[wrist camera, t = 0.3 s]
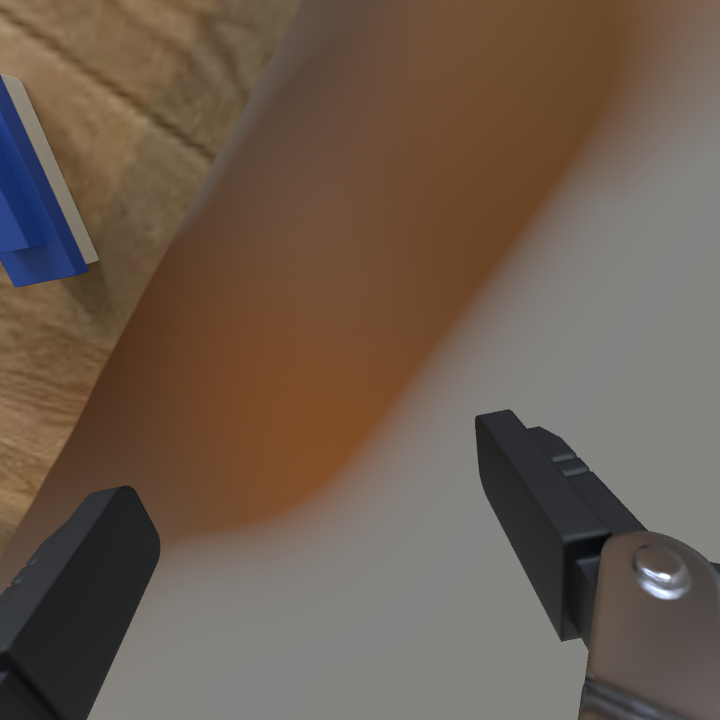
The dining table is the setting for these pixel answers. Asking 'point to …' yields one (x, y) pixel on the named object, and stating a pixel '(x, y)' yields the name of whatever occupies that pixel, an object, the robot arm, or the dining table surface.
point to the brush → (35, 199)
